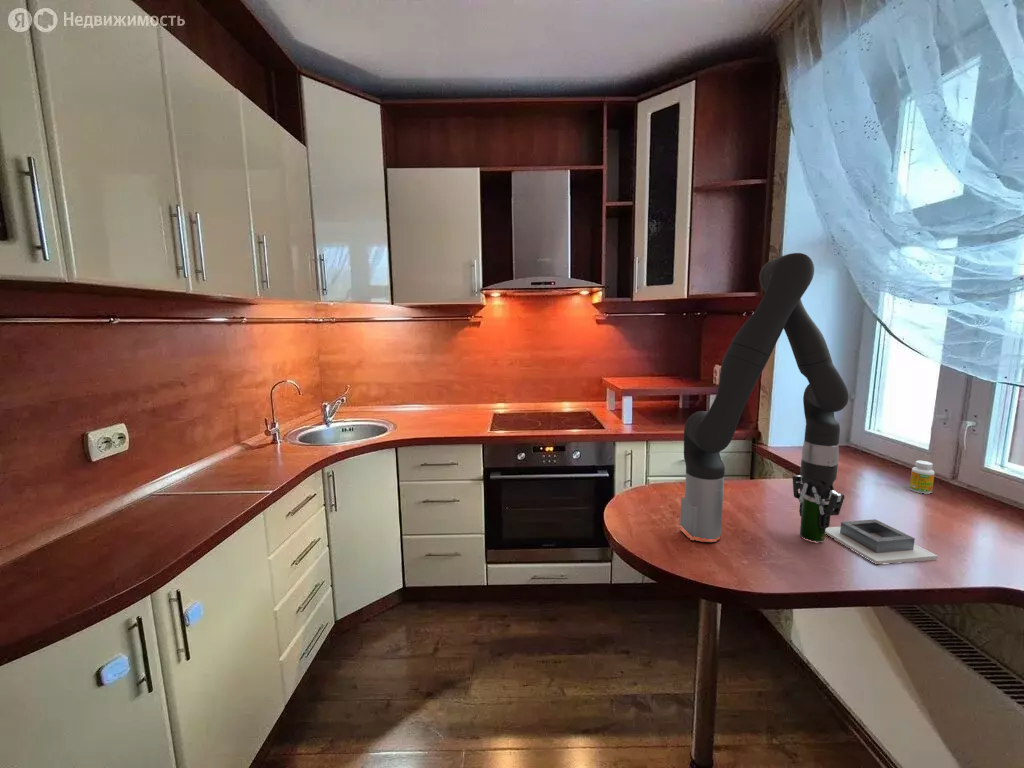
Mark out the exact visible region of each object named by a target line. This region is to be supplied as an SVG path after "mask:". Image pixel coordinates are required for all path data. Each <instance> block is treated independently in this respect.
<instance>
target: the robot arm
mask: <svg viewBox="0 0 1024 768" xmlns="http://www.w3.org/2000/svg"><path fill="white" fill-rule="evenodd" d="M814 275H815V264H814V262H813V259H812V258H811V257H810V256H809V255H807V254H806V253H801V252H792V253H788V254H785V255H781V256H779V257H776V258H773V259H771V260H769V261H767V262H766V263H764V265H763V266H762V267H761V269H760V271H759V275H758V277H759V279H758V280H759V285H760V286H761V289H762V290H763V293H764V294H763V297H762V298H761V300H760V303H759V304H758V305H757V308H756V309H755V311H754V312H753V313H751V315H750V317H749V318H748V319H747V320H746V321H745V322H744V323H743V325H742V326H741V327H740V329H739V330H738V331H737V332H736V334H735V335H734V337H733V338H732V340H731V341H730V344H729V345H728V347H727V350H726V352H725V354H724V356H723V357H722V361H721V364H720V365H721V366H720V371H719V377H718V387H717V391H716V395H715V398H714V400H713V402H712V404H711V406H710V408H709V410H708V411H705V410H700V411H699V410H698V411H695V412H693V413H692V414H690V416H689V417H688V418H687V420H686V421H685V424H684V429H683V458H684V459H683V460H684V463H685V479H684V481H685V482H684V483H685V484H684V497H681V498H680V499H681V500H680V521H679V522H680V523H679V526H680V525H681V526H682V527H683V528H684V529H685V530H686V531H687V532H688V533H689V534H690V535H691V536H692V537H694V536H695V537H700V538H705V539H716V538H718V537H720V535H721V536H722V520H723V508H724V507H723V503H724V487H725V486H724V485H725V473H726V471H725V470H726V466H725V464H724V462H723V460H722V457H721V454H720V452H722V451H723V450H725V449H726V448H727V447H728V446H729V445H730V443H731V442H732V440H733V437H734V435H735V432H736V429H737V428H738V425H739V421H740V420H741V416H742V414H743V411H744V408H745V406H746V404H747V402H748V400H749V398H750V396H751V394H752V392H753V390H754V388H755V387H756V384H757V382H758V380H759V378H760V376H761V374H762V373H763V371H764V369H765V368H766V365H767V363H768V361H769V359H770V357H771V355H772V353H773V351H774V348H775V346H776V344H777V342H778V341H779V338H780V337H781V335H782V334H783V333H782V332H783V330H784V333H785V334H786V338H787V340H788V342H789V345H790V348H791V351H792V353H793V357H794V359H795V363H796V365H797V367H798V370H799V373H800V374H801V375H803V376H804V377H805V378H806V379H807V381H808V384H807V386H806V387H805V389H804V392H803V397H802V398H803V399H802V401H803V402H802V403H803V413H804V418H805V429H804V441H803V445H802V450H801V460H800V461H801V462H800V474H799V475H798V474H797V475H792V488H793V490H792V491H793V497H794V498H795V499H797V500H798V502H799V516H800V517H801V514H802V503H803V496H804V495H805V494H804V493H806V494H807V493H808V494H810V495H812V496H814V497H815V500H816V504H817V505H818V506H819V510H820V514H819V521H818V527H820V528H828V527H830V523H831V522H830V521H831V516H839V515H840V512H841V508H842V507H843V504H844V499H845V495H844V494H843V493H838V492H837V491H836V490H835V487H834V482H835V481H836V480H837V475H838V467H839V466H838V465H839V457H840V456H839V455H840V451H839V450H840V449H839V443H840V434H841V433H840V432H841V426H840V423H839V422H838V421H837V419H836V417H835V413H836V412H839V411H842V410H843V409H845V407H846V406H847V405H848V402H849V391H848V387H847V385H846V383H845V382H844V380H843V378H842V376H841V375H840V372H839V371H838V369H837V368H836V367H835V365H834V363H833V360H832V357H831V354H830V350H829V347H828V344H827V342H826V340H825V337H824V335H823V333H822V331H821V330H820V328H819V327H818V326H817V324H816V323H815V322H814V321H813V319H812V318H811V316H810V314H809V313H808V312H807V310H806V308H805V306H804V304H803V301H802V299H801V298H802V297H803V296H804V294H805V293H806V291H807V289H808V288H809V286H810V284H811V283H812V281H813V278H814ZM826 498H827V501H825V502H822V501H821V499H826ZM824 505H826V510H825V508H824Z"/></svg>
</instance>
